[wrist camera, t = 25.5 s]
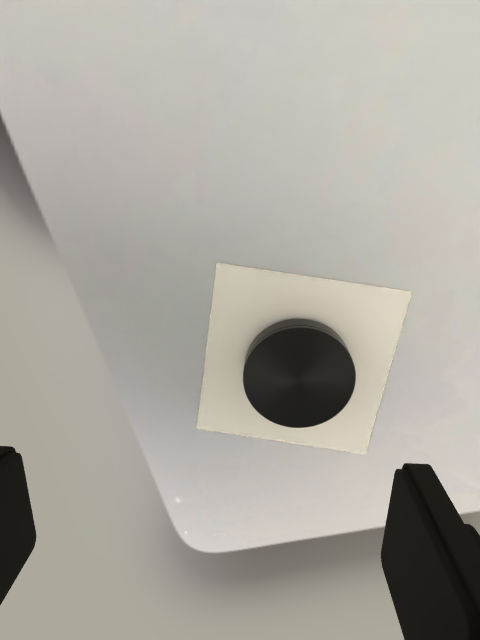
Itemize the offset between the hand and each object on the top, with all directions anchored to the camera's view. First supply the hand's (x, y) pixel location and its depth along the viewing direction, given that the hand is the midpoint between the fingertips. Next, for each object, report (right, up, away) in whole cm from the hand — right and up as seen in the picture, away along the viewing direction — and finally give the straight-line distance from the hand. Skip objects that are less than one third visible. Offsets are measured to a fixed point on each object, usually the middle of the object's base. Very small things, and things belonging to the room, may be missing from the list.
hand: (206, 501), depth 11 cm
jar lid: (+4, +1, +16) cm, 16 cm away
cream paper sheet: (+5, +2, +18) cm, 18 cm away
